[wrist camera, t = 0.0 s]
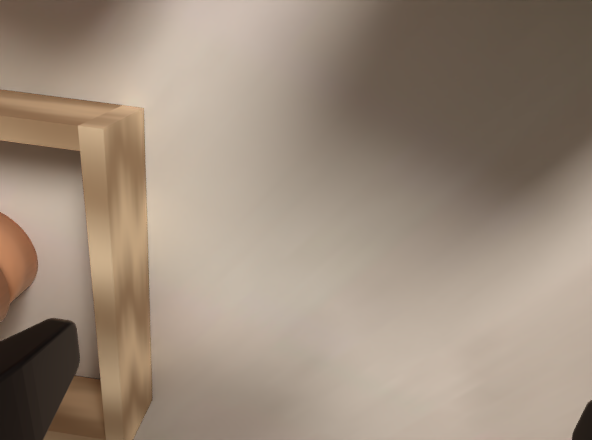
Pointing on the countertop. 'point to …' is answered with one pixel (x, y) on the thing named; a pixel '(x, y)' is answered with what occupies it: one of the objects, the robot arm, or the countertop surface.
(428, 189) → the countertop surface
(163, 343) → the countertop surface
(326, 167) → the countertop surface
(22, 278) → the peach door knob
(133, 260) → the open wooden tray
